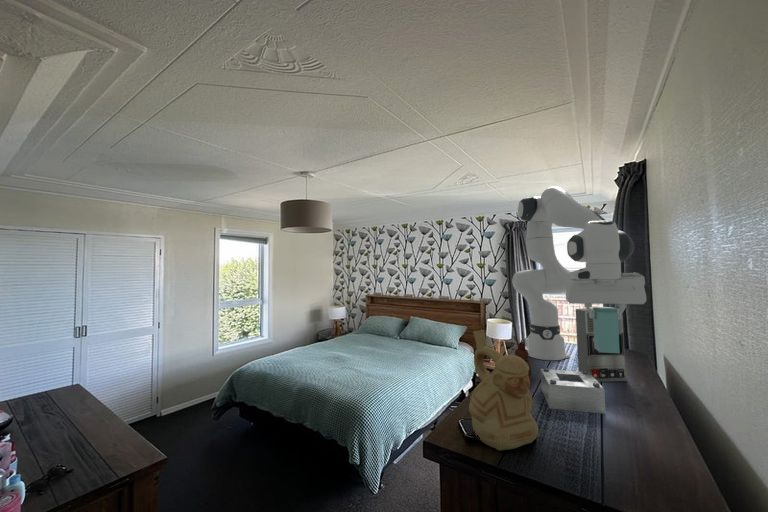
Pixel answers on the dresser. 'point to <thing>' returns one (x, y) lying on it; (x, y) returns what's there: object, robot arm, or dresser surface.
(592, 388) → the housing
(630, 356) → the dresser surface
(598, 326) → the cover plug
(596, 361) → the cassette tape recorder
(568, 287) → the robot arm
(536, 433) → the ceramic vessel
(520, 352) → the wooden figurine
